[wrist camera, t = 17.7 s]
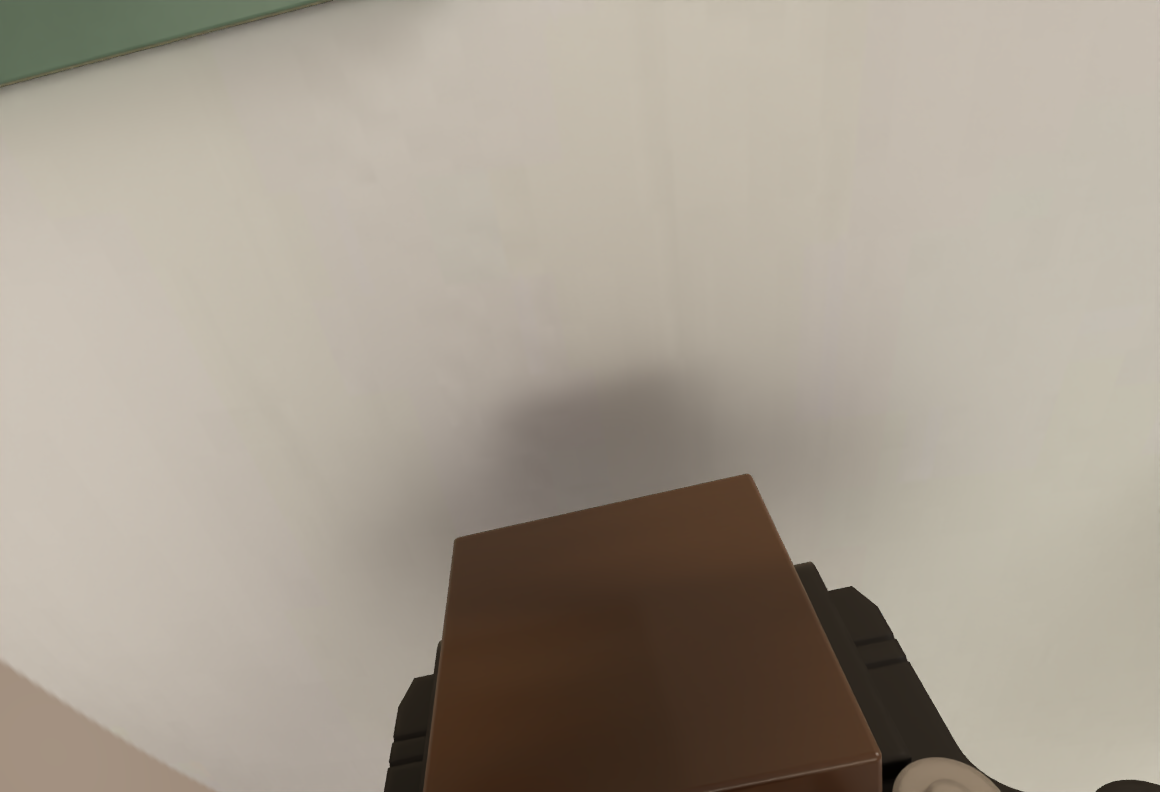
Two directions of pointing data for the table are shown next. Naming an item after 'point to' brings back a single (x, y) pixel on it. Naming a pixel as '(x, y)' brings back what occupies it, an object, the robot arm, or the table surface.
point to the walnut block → (642, 657)
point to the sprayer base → (111, 29)
